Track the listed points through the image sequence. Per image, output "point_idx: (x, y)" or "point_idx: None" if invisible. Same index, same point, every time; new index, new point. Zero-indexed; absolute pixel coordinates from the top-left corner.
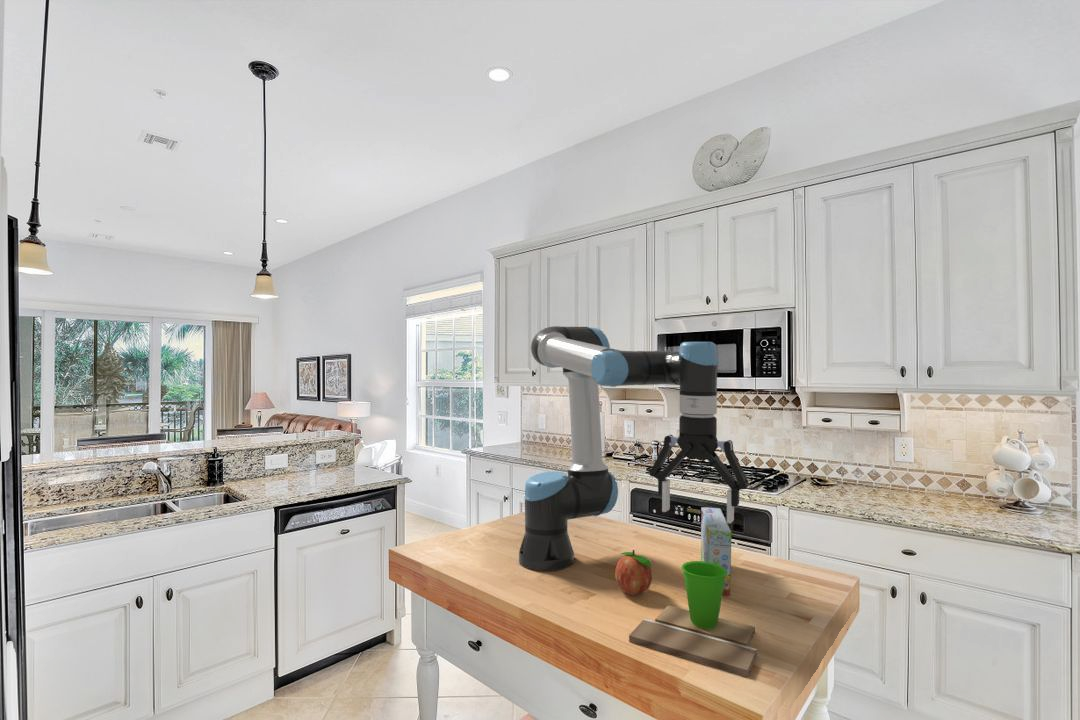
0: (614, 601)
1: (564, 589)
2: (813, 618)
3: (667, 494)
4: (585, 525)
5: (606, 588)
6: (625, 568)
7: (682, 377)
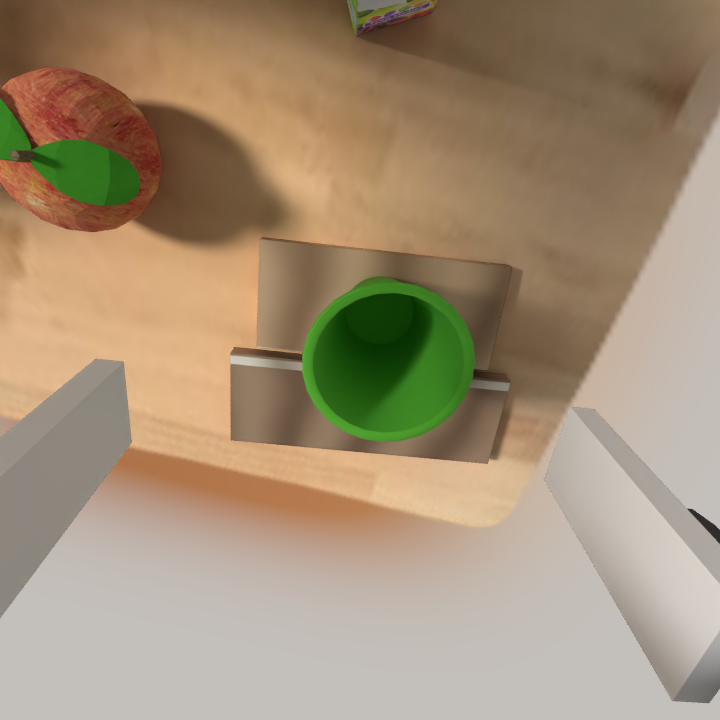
0: (99, 252)
1: None
2: (698, 83)
3: (57, 489)
4: None
5: None
6: (56, 223)
7: None
